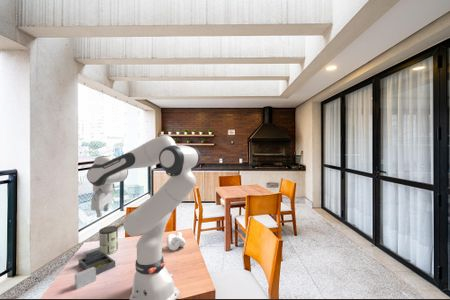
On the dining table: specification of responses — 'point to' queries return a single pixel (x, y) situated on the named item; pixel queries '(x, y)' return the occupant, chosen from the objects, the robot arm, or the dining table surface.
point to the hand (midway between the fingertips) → (102, 213)
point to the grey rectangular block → (85, 277)
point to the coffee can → (109, 239)
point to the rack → (96, 261)
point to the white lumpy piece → (175, 241)
